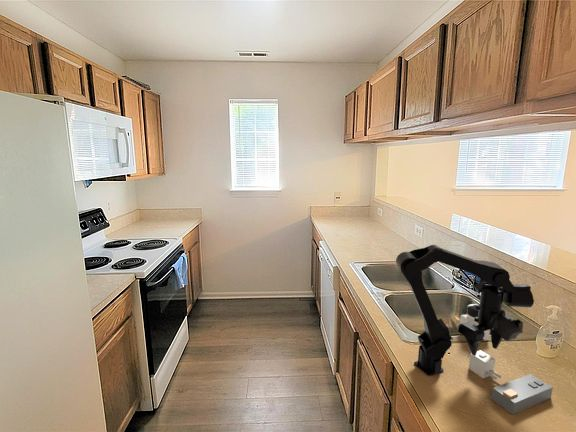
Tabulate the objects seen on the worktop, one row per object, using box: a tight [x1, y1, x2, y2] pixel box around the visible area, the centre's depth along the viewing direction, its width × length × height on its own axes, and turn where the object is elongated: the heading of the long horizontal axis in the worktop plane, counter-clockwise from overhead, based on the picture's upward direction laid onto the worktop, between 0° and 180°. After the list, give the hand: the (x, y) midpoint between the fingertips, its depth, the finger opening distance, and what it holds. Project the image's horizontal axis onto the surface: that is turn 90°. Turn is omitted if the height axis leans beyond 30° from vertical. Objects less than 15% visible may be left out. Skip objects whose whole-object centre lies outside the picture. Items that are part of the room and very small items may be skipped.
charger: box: [468, 349, 502, 380], centre depth 102 cm, size 8×4×6 cm, turn 22°
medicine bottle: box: [459, 303, 491, 342], centre depth 123 cm, size 7×7×12 cm
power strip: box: [491, 373, 553, 415], centre depth 92 cm, size 6×16×4 cm, turn 112°
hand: (484, 351), depth 103 cm, fingers open, 9 cm apart
